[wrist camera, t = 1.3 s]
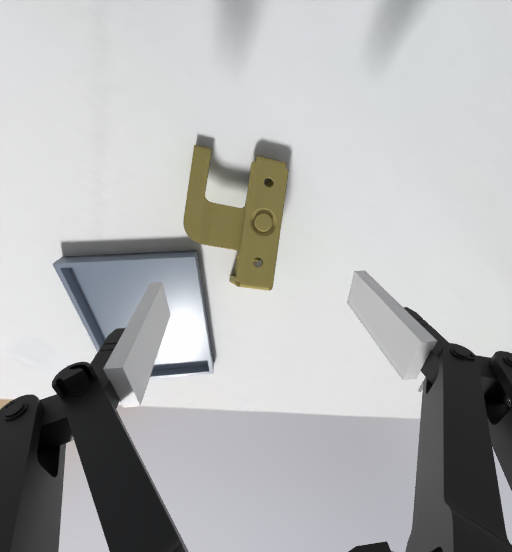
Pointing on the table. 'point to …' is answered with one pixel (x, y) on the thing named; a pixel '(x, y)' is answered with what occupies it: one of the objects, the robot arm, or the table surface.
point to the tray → (128, 293)
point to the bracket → (240, 218)
